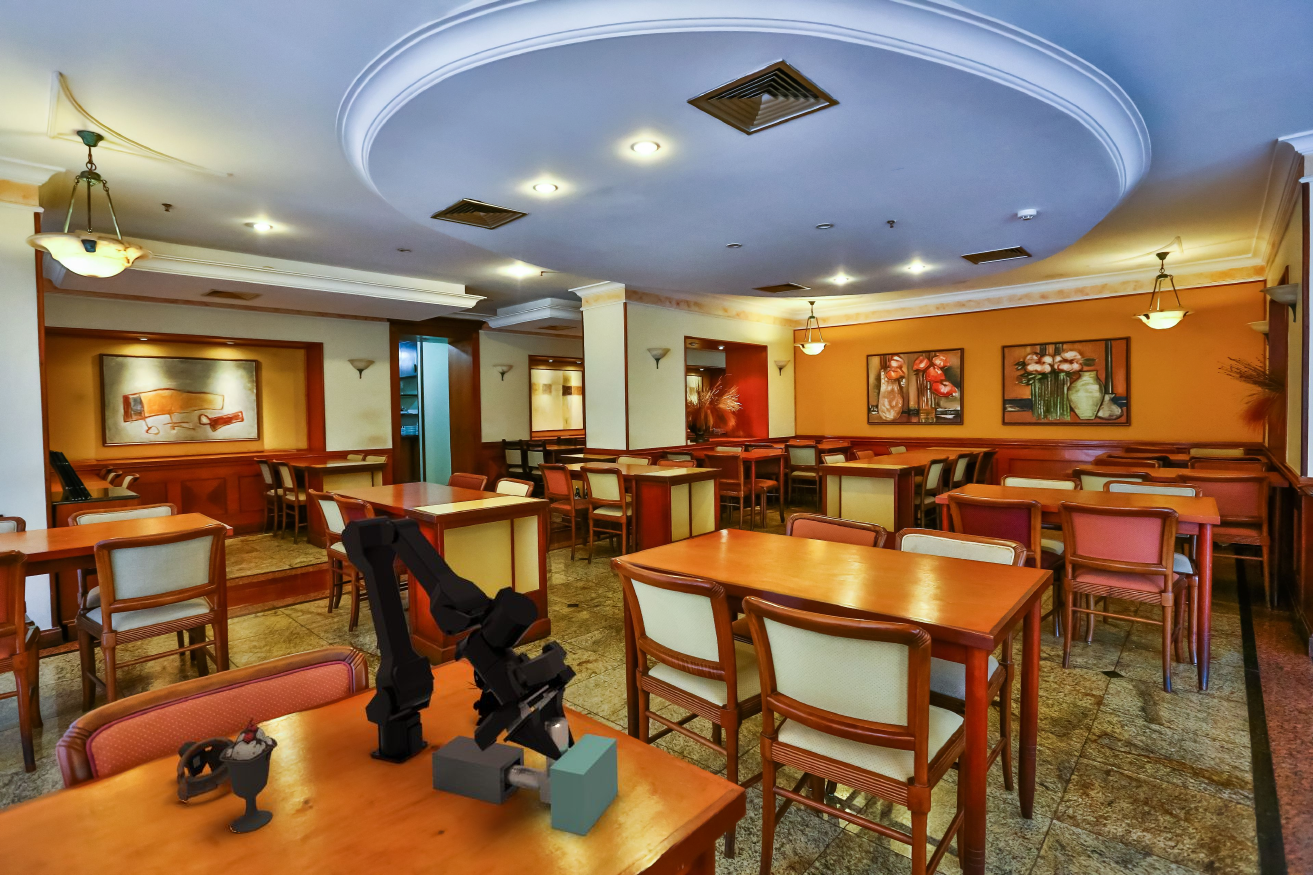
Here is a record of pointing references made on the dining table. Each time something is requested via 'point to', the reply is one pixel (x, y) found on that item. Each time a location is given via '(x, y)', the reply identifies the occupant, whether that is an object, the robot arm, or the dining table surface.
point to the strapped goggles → (201, 766)
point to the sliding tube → (541, 778)
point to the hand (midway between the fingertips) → (566, 752)
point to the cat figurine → (484, 700)
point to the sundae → (249, 774)
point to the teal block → (583, 784)
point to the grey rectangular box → (475, 769)
